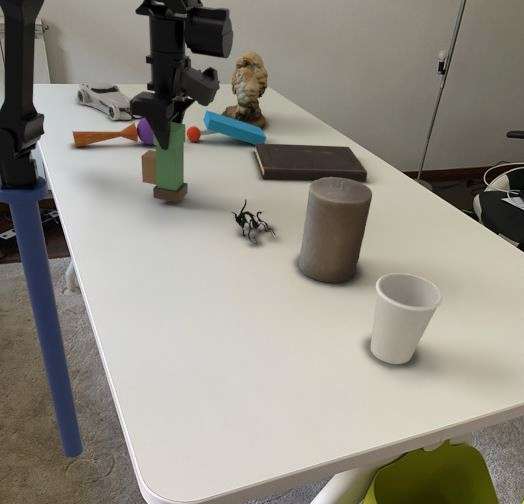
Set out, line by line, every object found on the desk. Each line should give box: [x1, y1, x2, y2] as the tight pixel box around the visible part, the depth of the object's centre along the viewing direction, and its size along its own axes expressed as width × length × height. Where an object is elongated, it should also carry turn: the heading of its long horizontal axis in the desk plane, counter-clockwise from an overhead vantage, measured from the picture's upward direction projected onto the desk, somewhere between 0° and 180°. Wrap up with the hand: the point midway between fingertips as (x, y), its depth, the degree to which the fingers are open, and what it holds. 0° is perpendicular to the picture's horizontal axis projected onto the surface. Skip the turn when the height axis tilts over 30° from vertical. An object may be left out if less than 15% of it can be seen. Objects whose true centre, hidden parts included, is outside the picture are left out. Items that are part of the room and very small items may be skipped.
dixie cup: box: [370, 272, 444, 365], centre depth 72 cm, size 8×8×10 cm
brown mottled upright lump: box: [221, 50, 269, 130], centre depth 143 cm, size 18×12×17 cm, turn 9°
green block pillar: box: [141, 122, 189, 204], centre depth 102 cm, size 12×5×12 cm
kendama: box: [71, 117, 154, 148], centre depth 125 cm, size 6×6×20 cm
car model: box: [76, 81, 143, 121], centre depth 147 cm, size 11×24×5 cm, turn 42°
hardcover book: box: [253, 142, 368, 182], centre depth 125 cm, size 16×23×2 cm
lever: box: [186, 109, 267, 145], centre depth 134 cm, size 7×7×18 cm
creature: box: [231, 198, 276, 245], centre depth 97 cm, size 8×5×8 cm
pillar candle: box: [298, 177, 373, 284], centre depth 87 cm, size 10×10×15 cm
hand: (169, 145), depth 100 cm, fingers closed on green block pillar, 4 cm apart
